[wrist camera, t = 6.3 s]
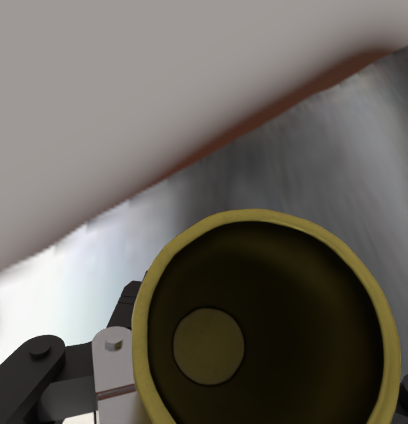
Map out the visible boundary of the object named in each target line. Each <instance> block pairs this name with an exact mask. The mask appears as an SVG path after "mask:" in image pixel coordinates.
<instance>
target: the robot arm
mask: <svg viewBox="0 0 408 424" xmlns="http://www.w3.org/2000/svg"><path fill="white" fill-rule="evenodd" d="M147 271H148V270H147ZM147 271H146V273H145V276H146V274H147ZM145 276H144V278H145ZM144 278H143V280H144ZM142 282H143V281H142ZM142 282H140V281H131V282H130V283H129V284H128V285H127V286H125V287H124V289H123V292H122V294H121V297H120V298H119V300H118V304H117V305H116V307H115V309H114V312H113V314H112V316H111V318H110V321H109V323H108V325H107V327H106V329H103V330H101V331H100V332H98V333H97V334H96V335H95V337H94V338H93V340H92V341H91V342H88V343H85V344H79V345H73V346H66V347H65V344H64V341H63V340H62V339H61V338H59V337H57V336H54V335H42V336H37V337H34V338H32V339H30V340H28V341H26V342H25V343H23V344H22V345H21V346H20V347H19V348H18V349H17V350H15V351H14V352H13V353H12V354H11V355H10V356H9V357H8V358H7V359H6V360H5V361H4V362H3V363H2V364H1V365H0V424H62V423H63V422H64V420H65V418H70V417H74V416H79V415H83V414H88V413H92V412H93V422H94V424H153V423H152V421H151V419H150V417H149V415H148V413H147V411H146V409H145V407H144V405H143V403H142V401H141V399H140V398H139V396H138V394H137V391H136V386H135V381H134V377H133V365H132V314H133V309H134V304H135V301H136V298H137V295H138V292H139V289H140V286H141V284H142ZM391 424H408V375H406V376H404V378H403V380H402V383H400V386H399V395H398V400H397V404H396V409H395V412H394V415H393V418H392V421H391Z"/></svg>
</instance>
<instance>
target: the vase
mask: <svg viewBox="0 0 408 424" xmlns="http://www.w3.org/2000/svg"><path fill="white" fill-rule="evenodd" d="M132 365H133V377H134V381H135V386H136V391H137V394H138V396H139V398H140V399H141V401H142V403H143V405H144V407H145V409H146V411H147V413H148V415H149V417H150V419H151V421H152V423H153V424H391V421H392V418H393V415H394V412H395V409H396V404H397V400H398V395H399V386H400V373H401V350H400V342H399V336H398V332H397V328H396V324H395V321H394V318H393V315H392V312H391V309H390V307H389V304H388V302H387V299H386V297H385V295H384V293H383V291H382V290H381V288H380V286H379V285H378V283H377V281H376V280H375V279H374V277H373V276H372V274H371V273H370V272H369V270H368V269H367V268H366V267H365V265H364V264H363V263H362V261H361V260H360V259H359V258H358V257H357V256H356V254H355V253H354V252H353V251H352V250H351V249H350V248H349V247H348V246H347V245H346V244H345V243H344V242H343V241H342V240H340V239H339V238H337V237H336V236H335V235H333V234H332V233H330V232H329V231H327V230H325V229H324V228H322V227H321V226H319V225H317V224H315V223H312V222H310V221H308V220H305V219H302V218H299V217H295V216H292V215H288V214H285V213H281V212H277V211H272V210H267V209H239V210H230V211H224V212H219V213H216V214H213V215H210V216H208V217H206V218H204V219H203V220H201V221H199V222H198V223H196V224H194V225H193V226H191V227H190V228H188V229H187V230H185V231H184V232H182V233H181V234H179V235H178V236H176V237H175V238H174V239H173V240H172V241H170V242H169V243H168V244H167V245H166V246H165V247H164V248H163V249H162V250H161V252H160V253H159V254H158V256H157V257H156V258H155V260H154V261H153V263H152V265H151V266H150V268H149V270H148V271H147V274H146V276H145V278H144V280H143V282H142V284H141V286H140V289H139V292H138V295H137V298H136V301H135V304H134V309H133V314H132Z"/></svg>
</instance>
